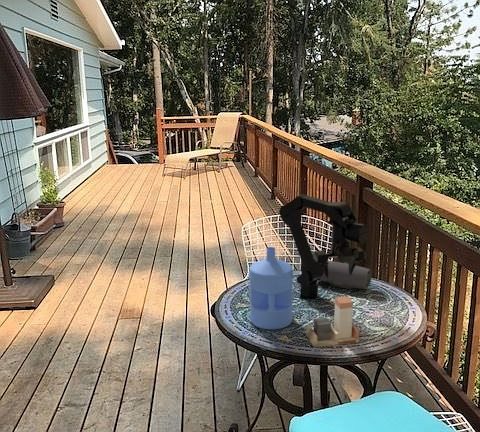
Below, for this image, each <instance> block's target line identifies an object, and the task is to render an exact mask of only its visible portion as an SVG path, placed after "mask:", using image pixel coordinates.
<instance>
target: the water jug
mask: <svg viewBox="0 0 480 432" xmlns="http://www.w3.org/2000/svg"><path fill="white" fill-rule="evenodd" d="M265 250H266V253H265V255H266V258H264V259H262V260H258V261H256V262H253V263H252V264H251V265H250V266H249V273H248V274H249V275H248V276H249V277H248V278H249V279H248V280H249V302H250V303H249V306H250V307H249V308H250V311H249V319H250V322H251V324H252V325H254V326H255V327H257V328H259V329H263V330H269V331H272V330H273V331H275V330H279V329H284V328H286V327H288V326H289V325H290V324H291V323H292V321H293V320H294V319H293V317H294V314H293V299H294V298H293V297H294V294H293V279H294V272H293V266H292V265H291V264H290V263H289V262H287V261H284V260H280V259H278V258H276V248H275V247H273V246H268V247H266V249H265Z"/></svg>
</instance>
